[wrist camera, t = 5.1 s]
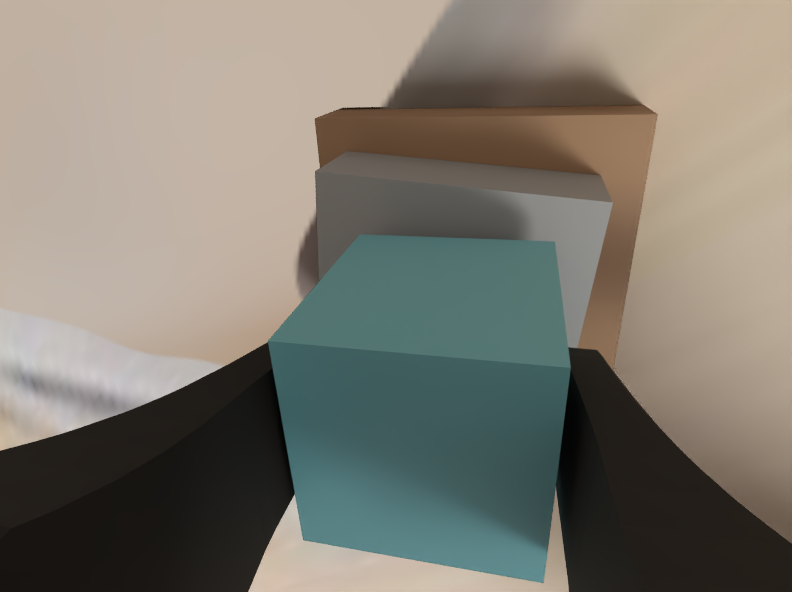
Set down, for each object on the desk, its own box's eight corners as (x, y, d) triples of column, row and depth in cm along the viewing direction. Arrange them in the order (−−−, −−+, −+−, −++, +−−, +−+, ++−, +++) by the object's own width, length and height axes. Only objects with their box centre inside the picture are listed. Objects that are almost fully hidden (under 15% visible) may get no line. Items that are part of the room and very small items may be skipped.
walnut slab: (598, 363, 19) (606, 406, 17) (362, 342, 21) (342, 377, 19) (639, 102, 15) (657, 114, 13) (342, 107, 17) (314, 118, 15)
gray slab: (551, 388, 17) (554, 440, 15) (347, 352, 18) (322, 396, 16) (600, 175, 14) (612, 202, 11) (347, 150, 15) (315, 171, 13)
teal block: (538, 405, 13) (543, 583, 9) (371, 387, 14) (302, 540, 10) (554, 241, 11) (571, 367, 7) (359, 234, 12) (268, 341, 8)
